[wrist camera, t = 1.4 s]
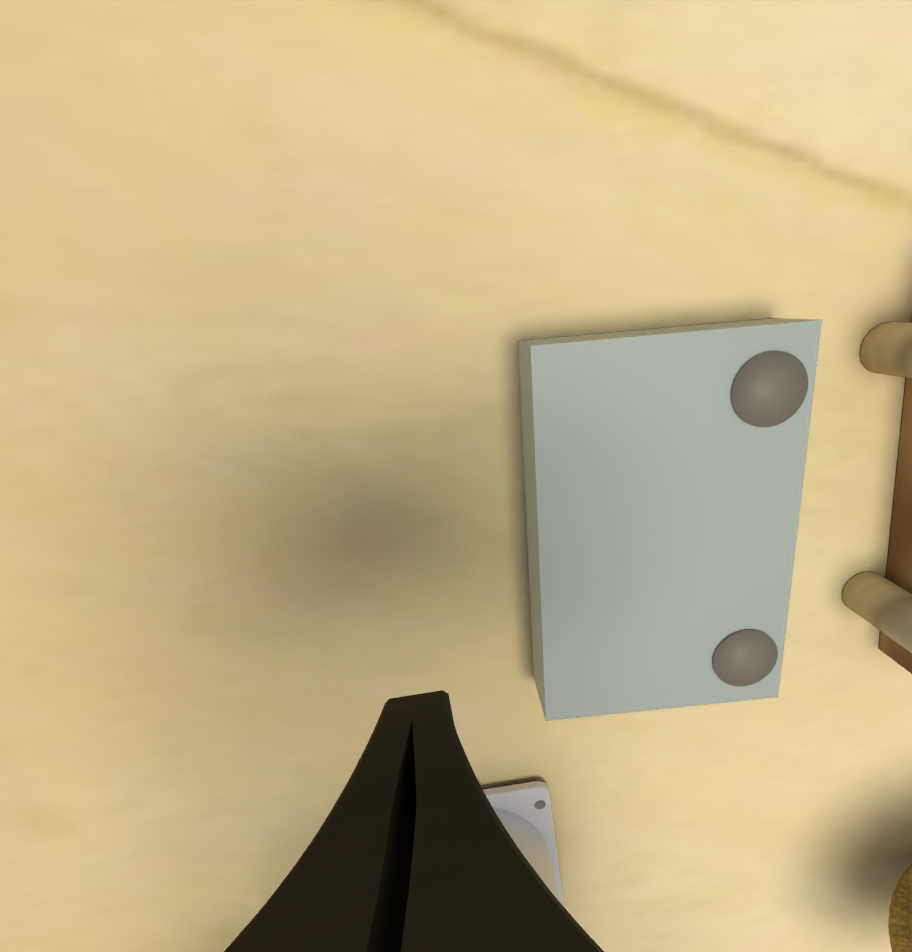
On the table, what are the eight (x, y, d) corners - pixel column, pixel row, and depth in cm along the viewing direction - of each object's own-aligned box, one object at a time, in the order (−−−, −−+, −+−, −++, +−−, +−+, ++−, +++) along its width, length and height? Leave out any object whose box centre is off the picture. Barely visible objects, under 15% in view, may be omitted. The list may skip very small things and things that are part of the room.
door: (736, 649, 24) (780, 700, 21) (531, 670, 24) (546, 723, 21) (764, 317, 20) (825, 320, 17) (515, 340, 19) (531, 346, 16)
